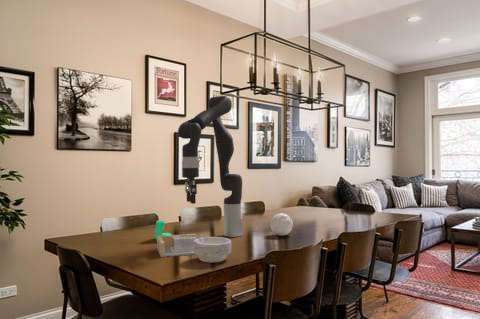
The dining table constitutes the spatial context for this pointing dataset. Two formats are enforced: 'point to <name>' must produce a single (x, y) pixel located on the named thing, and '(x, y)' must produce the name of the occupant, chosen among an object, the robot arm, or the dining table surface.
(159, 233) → the camera mount
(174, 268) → the dining table surface
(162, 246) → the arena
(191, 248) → the aluminium bracket
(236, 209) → the robot arm
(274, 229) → the decorative ball
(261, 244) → the dining table surface
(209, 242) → the white marbled bowl
